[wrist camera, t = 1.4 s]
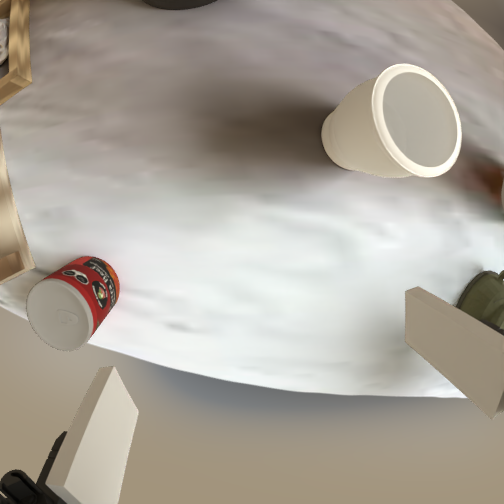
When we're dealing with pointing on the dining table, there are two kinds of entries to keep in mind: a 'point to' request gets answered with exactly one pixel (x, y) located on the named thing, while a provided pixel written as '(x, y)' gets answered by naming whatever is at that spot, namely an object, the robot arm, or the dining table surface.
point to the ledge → (11, 231)
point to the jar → (395, 126)
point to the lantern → (485, 298)
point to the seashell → (4, 39)
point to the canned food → (72, 302)
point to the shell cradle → (16, 48)
